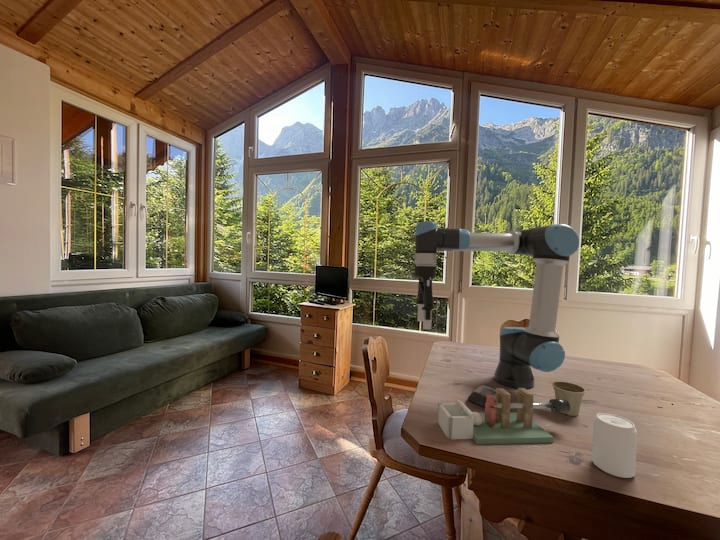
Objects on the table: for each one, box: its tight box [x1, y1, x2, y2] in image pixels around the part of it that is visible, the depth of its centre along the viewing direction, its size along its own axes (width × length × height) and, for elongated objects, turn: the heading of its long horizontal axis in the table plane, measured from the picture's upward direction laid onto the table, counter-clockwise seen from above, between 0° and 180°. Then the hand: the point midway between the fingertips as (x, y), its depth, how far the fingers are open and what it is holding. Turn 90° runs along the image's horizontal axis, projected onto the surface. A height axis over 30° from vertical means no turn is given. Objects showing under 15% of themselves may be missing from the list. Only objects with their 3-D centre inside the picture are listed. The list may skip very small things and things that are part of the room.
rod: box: [484, 395, 570, 426], centre depth 91 cm, size 25×4×8 cm, turn 95°
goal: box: [437, 399, 474, 440], centre depth 89 cm, size 7×9×7 cm
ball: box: [472, 411, 483, 426], centre depth 90 cm, size 4×4×4 cm
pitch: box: [461, 411, 554, 445], centre depth 91 cm, size 22×14×2 cm, turn 95°
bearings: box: [495, 387, 534, 429], centre depth 91 cm, size 9×4×10 cm, turn 95°
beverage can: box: [591, 412, 638, 479], centre depth 74 cm, size 8×8×12 cm
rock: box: [467, 384, 512, 408], centre depth 108 cm, size 14×11×5 cm
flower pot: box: [551, 380, 587, 417], centre depth 103 cm, size 9×9×9 cm
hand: (423, 325), depth 109 cm, fingers open, 13 cm apart
